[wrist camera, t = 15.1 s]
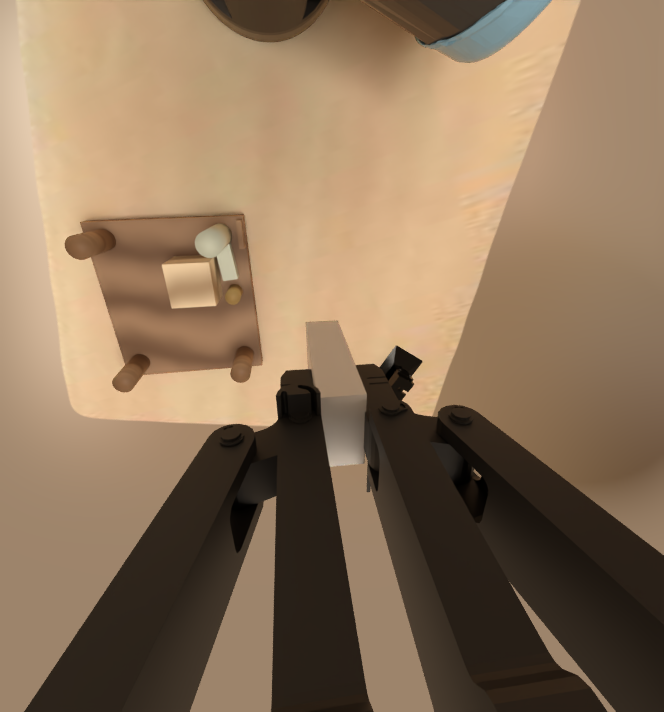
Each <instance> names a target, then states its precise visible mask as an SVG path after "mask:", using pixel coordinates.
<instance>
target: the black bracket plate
mask: <svg viewBox="0 0 664 712" xmlns="http://www.w3.org/2000/svg"><path fill="white" fill-rule="evenodd" d="M421 363H422V360H420V359H418V358H417V357H415V356H413V355H412V354H410V353H408V352H407V351H405V350H403V349H402V348H400V347H398V346H395V348H394V349H393V350H392V352H391V353H390V354H389V356H388V357H387V358H386V360H385V361H384V362H383V364H382V365H381V366H380V369H382V370H383V372H384V374H385V376H386V378H387V380H388V382H389V384H390V386H391V387H392V389H393V391H394V393H395V395H396V397H397V399H398V400H401V401H402V399H403V398H404V397H405V395H406V394H405V393H404V392H402V391H403V390H405V391H407V392H409V390H410V389H411V388H412V387H413V385H414V383H413V382H412V381H413V378H412V377H411V376H412V375H413V374H414V372H415V371H416V370H417V368H418V367H419V366H420V364H421Z"/></svg>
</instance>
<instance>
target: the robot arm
mask: <svg viewBox="0 0 664 712" xmlns="http://www.w3.org/2000/svg"><path fill="white" fill-rule="evenodd" d="M203 1H204V2H205V4H206V5H207V6H208V7H209V9H210V10H211V11H212V12H213V13H214V14H215V16H216V17H217V18H218V19H220V20H221V21H222V22H223V23H224V24H225V25H226V26H228V27H229V28H230V29H232V30H234V31H235V32H237V33H239V34H241V35H242V36H245V37H247V38H250V39H253V40H257V41H263V42H278V41H283V40H287V39H290V38H292V37H295V36H297V35H298V34H300V33H302V32H303V31H305V30H306V29H307V28H308V27H310V26H311V25H312V24H313V23H314V22H315V20H316V19H317V18H318V17H319V16H320V14H321V13H322V11H323V10H324V8H325V7H326V5H327V3H328V1H329V0H203ZM360 1H362V2H364V3H365V4H367V5H368V6H370V7H371V8H373V9H374V10H376V11H377V12H379V13H380V14H382V15H383V16H385V17H386V18H388V19H389V20H391V21H392V22H394V23H396V24H397V25H399V26H400V27H402V28H403V29H405V30H406V31H408V32H409V33H411V34H412V35H414V36H415V39H416V41H417V42H418V43H419V44H420V45H422V46H423V47H425V48H426V47H428V48H430V49H436V50H437V51H439V52H441V53H442V54H444V55H446V56H448V57H449V58H451V59H453V60H455V61H457V62H465V63H471V62H478V61H480V60H483V59H485V58H487V57H489V56H491V55H493V54H494V53H496V52H498V51H499V50H501V49H502V48H503V47H505V46H506V45H507V44H508V43H510V42H511V41H512V40H513V39H514V38H515V37H517V36H518V35H519V34H520V33H521V32H522V31H523V30H524V29H525V28H526V27H527V26H529V25H530V23H531V22H532V21H533V20H534V19H535V18H536V17H537V16H538V15H539V14H540V13H541V12H542V11H543V10H544V9H545V8H546V7H547V5H548V4H549V3H550V2H551V1H552V0H360ZM306 337H307V357H308V369H305V370H290V371H286V372H285V373H284V374H283V375H282V377H281V389H280V390H279V391H278V392H277V395H276V401H277V412H278V420H277V422H276V423H274V424H273V425H272V426H270V427H268V428H267V429H264V430H261V431H258V432H254V431H253V429H252V428H250V427H249V426H247V425H242V424H231V425H227V426H223V427H221V428H219V429H217V430H215V431H214V432H213V433H212V434H211V435H210V436H209V438H208V439H207V440H206V442H205V443H204V445H203V446H202V448H201V450H200V451H199V452H198V454H197V456H196V457H195V458H194V460H193V461H192V463H191V464H190V466H189V467H188V469H187V470H186V472H185V473H184V475H183V476H182V478H181V479H180V481H179V482H178V484H177V485H176V486H175V488H174V489H173V491H172V493H171V494H170V495H169V497H168V498H167V500H166V501H165V503H164V504H163V506H162V507H161V509H160V510H159V512H158V513H157V515H156V516H155V518H154V519H153V521H152V522H151V524H150V525H149V527H148V528H147V530H146V531H145V533H144V534H143V536H142V537H141V539H140V540H139V542H138V543H137V545H136V546H135V548H134V549H133V551H132V552H131V554H130V555H129V557H128V558H127V559H126V561H125V562H124V564H123V565H122V567H121V568H120V570H119V571H118V573H117V575H116V576H115V577H114V579H113V580H112V582H111V583H110V585H109V586H108V588H107V589H106V591H105V592H104V594H103V595H102V597H101V598H100V600H99V601H98V603H97V604H96V606H95V607H94V609H93V610H92V612H91V613H90V615H89V616H88V618H87V619H86V621H85V622H84V624H83V625H82V627H81V628H80V629H79V631H78V632H77V634H76V635H75V637H74V638H73V640H72V641H71V643H70V644H69V646H68V647H67V649H66V651H65V652H64V653H63V655H62V656H61V658H60V659H59V661H58V662H57V664H56V665H55V667H54V668H53V670H52V671H51V673H50V674H49V676H48V677H47V679H46V680H45V682H44V683H43V685H42V686H41V688H40V689H39V691H38V692H37V694H36V695H35V697H34V698H33V699H32V701H31V703H30V704H29V705H28V707H27V708H26V710H25V711H24V712H190V709H191V706H192V704H193V701H194V698H195V695H196V692H197V690H198V687H199V684H200V681H201V678H202V676H203V673H204V670H205V667H206V664H207V662H208V659H209V656H210V653H211V650H212V648H213V645H214V642H215V639H216V637H217V634H218V631H219V628H220V625H221V623H222V620H223V617H224V614H225V611H226V609H227V606H228V603H229V600H230V597H231V595H232V592H233V589H234V586H235V583H236V581H237V578H238V575H239V572H240V569H241V567H242V564H243V561H244V558H245V555H246V553H247V550H248V547H249V544H250V542H251V539H252V536H253V533H254V530H255V527H256V525H257V522H258V519H259V516H260V514H261V510H262V508H263V502H264V500H267V499H270V498H272V497H275V496H277V497H276V538H275V540H276V541H275V582H274V584H275V585H274V626H273V670H272V675H273V676H272V708H271V712H373V709H372V706H371V704H370V702H369V699H368V695H367V689H366V684H365V679H364V673H363V666H362V660H361V654H360V648H359V642H358V636H357V630H356V623H355V617H354V611H353V605H352V599H351V593H350V587H349V581H348V575H347V569H346V563H345V557H344V550H343V544H342V538H341V533H340V526H339V520H338V514H337V508H336V503H335V496H334V490H333V484H332V478H331V471H330V467H332V466H342V465H353V464H363V463H364V461H365V459H364V458H365V454H366V457H367V460H368V469H367V492H370V486H371V489H372V492H373V496H374V499H375V503H376V506H377V510H378V514H379V517H380V521H381V524H382V528H383V531H384V535H385V538H386V541H387V545H388V549H389V552H390V556H391V559H392V563H393V566H394V570H395V574H396V577H397V580H398V584H399V588H400V591H401V595H402V598H403V602H404V605H405V609H406V613H407V616H408V619H409V623H410V626H411V630H412V634H413V637H414V641H415V644H416V648H417V651H418V655H419V658H420V662H421V666H422V669H423V673H424V676H425V680H426V683H427V686H428V690H429V694H430V697H431V700H432V704H433V708H434V712H607V711H606V709H605V707H604V706H603V704H602V703H601V702H600V700H599V699H598V697H597V696H596V695H595V693H594V692H593V691H592V689H591V688H590V687H589V686H588V685H587V684H586V683H585V682H584V681H583V680H582V679H581V678H580V677H579V676H578V675H575V674H573V673H571V672H568V671H566V670H564V669H562V668H561V667H560V666H559V665H558V664H557V663H556V662H555V661H554V659H553V658H552V656H551V655H550V653H549V652H548V650H547V648H546V646H545V645H544V643H543V641H542V639H541V638H540V636H539V634H538V632H537V631H536V629H535V627H534V625H533V624H532V622H531V620H530V618H529V616H528V615H527V613H526V611H525V609H524V607H523V606H522V604H521V602H520V600H519V599H518V597H517V595H516V593H515V591H514V590H513V588H512V586H511V584H512V585H513V587H515V589H516V590H517V591H518V593H519V594H520V595H521V596H522V597H523V599H524V600H525V601H526V602H527V604H528V605H529V606H530V607H531V608H532V610H533V611H534V612H535V613H536V615H537V616H538V617H539V618H540V619H541V621H542V622H543V623H544V624H545V626H546V627H547V628H548V629H549V630H550V632H551V633H552V634H553V635H554V636H555V638H556V639H557V640H558V641H559V643H560V644H561V645H562V646H563V647H564V649H565V650H566V651H567V652H568V654H569V655H570V656H571V657H572V658H573V660H574V661H575V662H576V663H577V664H578V666H579V667H580V668H581V669H582V670H583V672H584V673H585V674H586V675H587V676H588V678H589V679H590V680H591V681H592V683H593V684H594V685H595V686H596V688H597V689H598V690H599V691H600V692H601V694H602V695H603V696H604V697H605V699H606V700H607V701H608V702H609V703H610V705H611V706H612V707H613V708H614V709H615V710H616V712H664V555H662V554H661V553H660V552H658V551H657V550H656V549H655V548H653V547H652V546H651V545H649V544H648V543H647V542H645V541H644V540H643V539H641V538H640V537H639V536H638V535H636V534H635V533H634V532H632V531H631V530H630V529H628V528H627V527H626V526H625V525H623V524H622V523H621V522H619V521H618V520H617V519H616V518H614V517H613V516H612V515H610V514H609V513H608V512H607V511H605V510H604V509H603V508H601V507H600V506H599V505H597V504H596V503H595V502H593V501H592V500H591V499H590V498H588V497H587V496H586V495H584V494H583V493H582V492H580V491H579V490H578V489H577V488H575V487H574V486H573V485H571V484H570V483H569V482H568V481H566V480H565V479H564V478H562V477H561V476H560V475H558V474H557V473H556V472H555V471H553V470H552V469H551V468H549V467H548V466H547V465H546V464H544V463H543V462H541V461H540V460H539V459H538V458H536V457H535V456H534V455H533V454H531V453H530V452H529V451H527V450H526V449H525V448H523V447H522V446H521V445H520V444H518V443H517V442H516V441H514V440H513V439H512V438H510V437H509V436H508V435H506V434H505V433H504V432H503V431H501V430H500V429H499V428H498V427H496V426H495V425H494V424H492V423H491V422H490V421H488V420H487V419H486V418H485V417H483V416H482V415H481V414H479V413H478V412H476V411H475V410H473V409H471V408H468V407H465V406H460V405H459V406H458V405H451V406H445V407H443V408H441V409H440V411H439V412H438V417H431V416H423V415H418V414H415V413H414V412H413V411H412V409H411V407H410V406H409V405H408V404H407V403H405V402H403V401H401V400H398V399H397V397H396V395H395V393H394V391H393V389H392V387H391V386H390V384H389V382H388V380H387V378H386V376H385V374H384V372H383V370H382V369H380V368H379V367H378V366H376V365H375V364H365V365H355V363H354V360H353V358H352V355H351V353H350V350H349V348H348V345H347V343H346V340H345V338H344V335H343V333H342V330H341V327H340V325H339V322H338V321H319V322H306ZM474 469H475V470H476V471H477V472H478V473H479V474H480V475H481V476H482V477H481V478H480V477H479V476H477V475H476V474H475V473H474V472H473V471H474ZM508 580H509V581H508ZM509 582H510V583H511V584H510V583H509Z"/></svg>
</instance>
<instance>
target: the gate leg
mask: <svg viewBox="0 0 664 712" xmlns="http://www.w3.org/2000/svg"><path fill="white" fill-rule="evenodd" d="M231 240H232V232H231V230H230V228H229V227H228V226H227V225H225V224H222V223H218V224H215V225H213V226H211V227H210V228H208V229H206V230H204V231H203V232H201V233H199V234H198V235H197V237H196V239H195V247H196V250H197V251H198V252H199V254H201V255H202V256H204V257H206V258H214V257H216V256H217V260H218V264H219V267H220V271H221V275H222V278H223V281H228V280H234V279H238V278H239V274H238V270H237V266H236V262H235V257H234V253H233V249H232V245H231Z"/></svg>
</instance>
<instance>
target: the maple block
mask: <svg viewBox="0 0 664 712" xmlns="http://www.w3.org/2000/svg"><path fill="white" fill-rule="evenodd" d="M162 269H163V273H164V277H165V281H166V286H167V290H168V294H169V299H170V303H171V307H172V309H173V308H190V307H207V306H216V305H217V304H218V302H219V300H220V298H221V297H222V295H223V292H222V286H221V279H220V273H219V267H218V261H217V256H216V257H214V258H206V257H204V256H202V255H195V256H174V257H173V258H171V259H170V260H168V261H166V262H165V263H163V264H162Z"/></svg>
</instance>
